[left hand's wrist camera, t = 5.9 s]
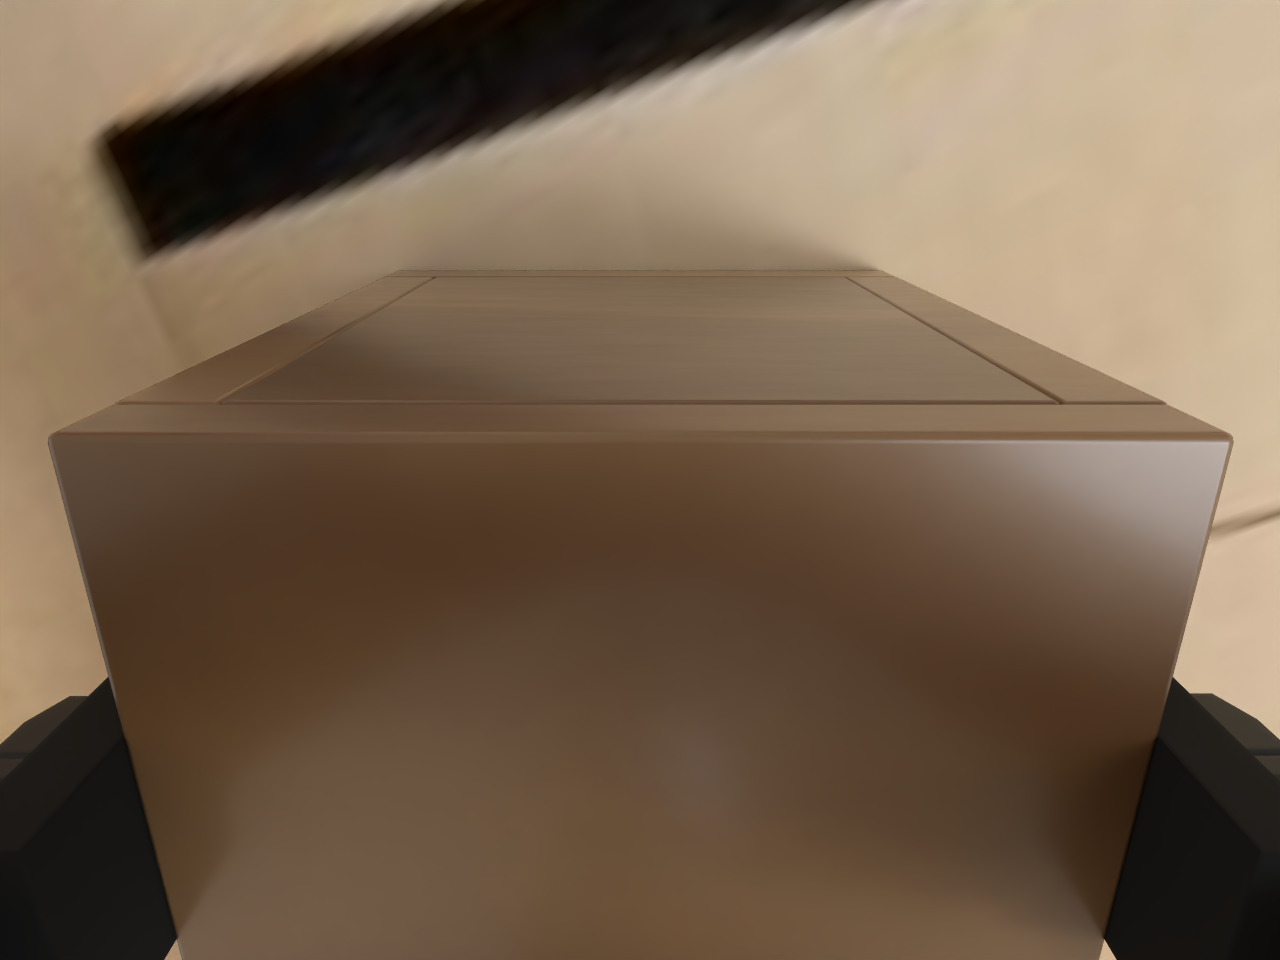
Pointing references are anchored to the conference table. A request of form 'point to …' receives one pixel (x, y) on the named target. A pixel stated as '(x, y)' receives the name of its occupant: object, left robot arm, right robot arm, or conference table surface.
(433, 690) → the cabinet
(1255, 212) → the conference table surface
